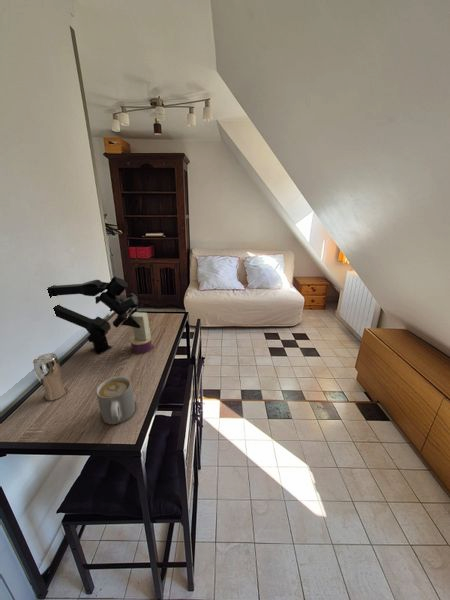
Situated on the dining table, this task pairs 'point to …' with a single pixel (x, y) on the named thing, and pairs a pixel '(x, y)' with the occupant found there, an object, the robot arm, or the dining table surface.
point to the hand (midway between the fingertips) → (141, 325)
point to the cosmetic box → (144, 330)
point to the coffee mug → (116, 400)
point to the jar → (141, 345)
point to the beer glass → (49, 375)
